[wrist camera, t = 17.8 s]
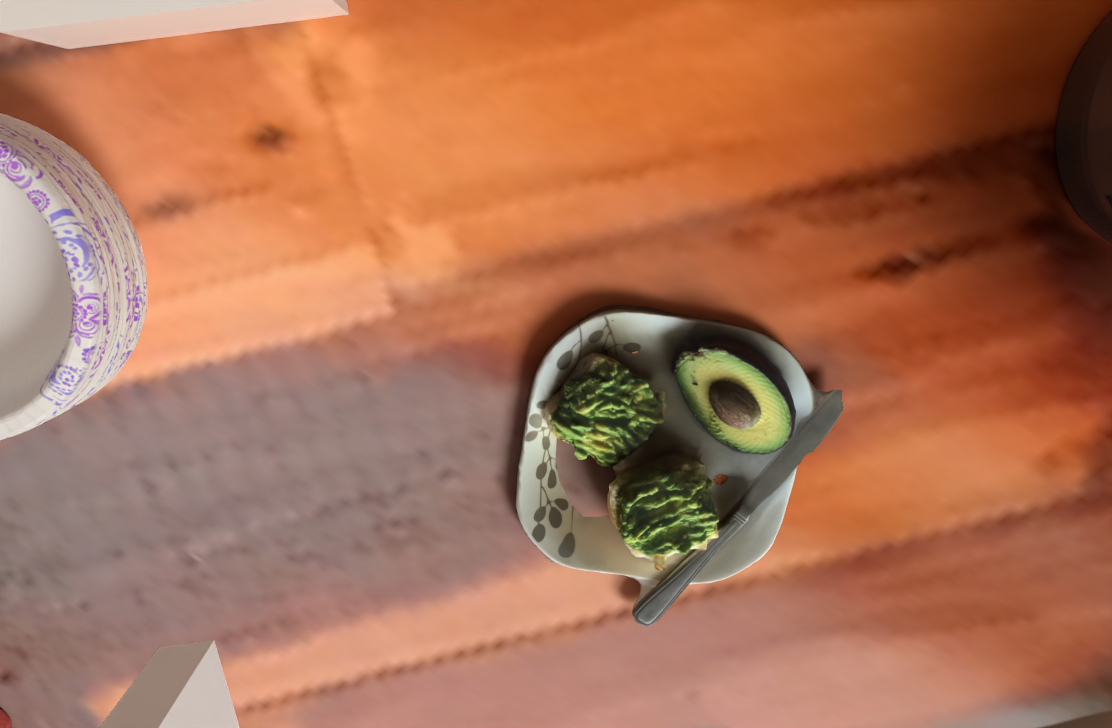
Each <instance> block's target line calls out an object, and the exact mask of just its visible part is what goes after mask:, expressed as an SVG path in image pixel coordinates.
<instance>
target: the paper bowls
mask: <svg viewBox="0 0 1112 728" xmlns="http://www.w3.org/2000/svg"><path fill="white" fill-rule="evenodd" d="M147 301H148V296H147V271H146V265H145V258H144V253H143V250H142V246H141V242H140V240H139V237H138V235H137V233H136V231H135V228H134V226H133V223H132V221H131V219H130V217H129V215H128V213H127V212H126V210H125V208H124V206H123V205H122V203H121V201H120V200H119V198H118V196H117V195H116V194H115V193H114V191H113V190H112V189H111V188H110V186H109V185H108V184H107V183H106V181H105V180H104V179H103V178H102V176H101V175H100V174H99V173H98V172H97V171H96V169H95V168H94V167H93V166H92V165H91V164H90V163H89V162H88V160H86V159H85V158H84V157H83V156H82V155H81V154H80V153H78V152H77V151H76V150H74V149H73V148H72V147H71V146H69V145H68V144H66V143H65V142H63V141H61V140H60V139H58V138H56V137H54V136H53V135H51V134H50V133H48V132H46V131H44V130H42V129H41V128H39V127H37V126H34V125H32V124H30V123H27V122H25V121H23V120H20V119H17V118H14V117H11V116H9V115H6V114H2V113H0V440H3V439H5V438H9V437H12V436H15V435H18V434H20V433H23V432H25V431H28V430H30V429H32V428H34V427H36V426H38V425H40V424H42V423H43V422H45V421H48V420H50V419H52V418H54V417H56V416H58V415H60V414H61V413H63V412H65V411H67V410H69V409H71V408H72V407H74V406H76V405H78V404H79V403H81V402H83V401H84V400H86V399H88V398H89V397H90V396H92V395H93V394H95V393H96V392H98V391H99V390H100V389H101V388H103V387H104V386H105V385H106V384H107V383H108V382H110V381H111V380H112V379H113V378H114V377H115V376H116V375H117V373H118V372H119V371H120V370H121V369H122V368H123V366H124V365H125V363H126V362H127V360H128V359H129V357H130V355H131V354H132V352H133V350H134V349H135V347H136V345H137V342H138V340H139V337H140V333H141V330H142V327H143V324H144V320H145V316H146V310H147Z"/></svg>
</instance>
